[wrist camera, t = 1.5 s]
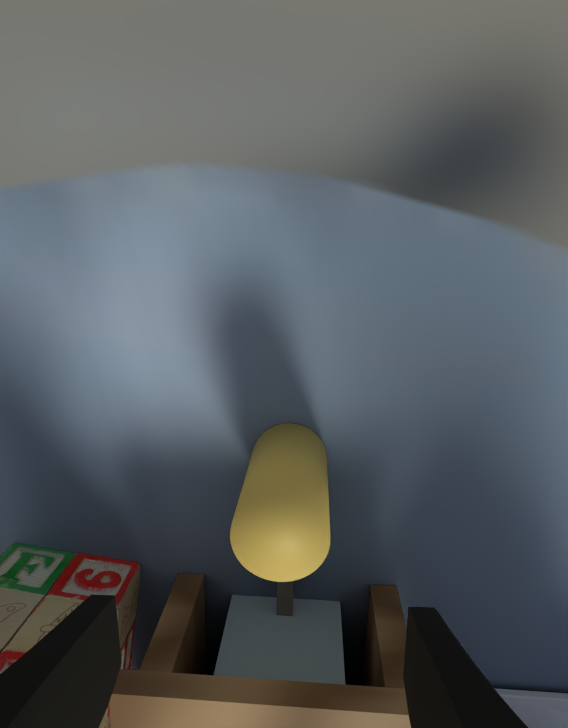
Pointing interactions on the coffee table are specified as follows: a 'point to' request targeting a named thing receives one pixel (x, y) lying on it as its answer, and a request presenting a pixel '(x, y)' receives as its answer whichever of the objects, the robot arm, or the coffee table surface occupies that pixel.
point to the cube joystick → (283, 565)
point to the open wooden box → (258, 696)
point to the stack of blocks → (60, 597)
